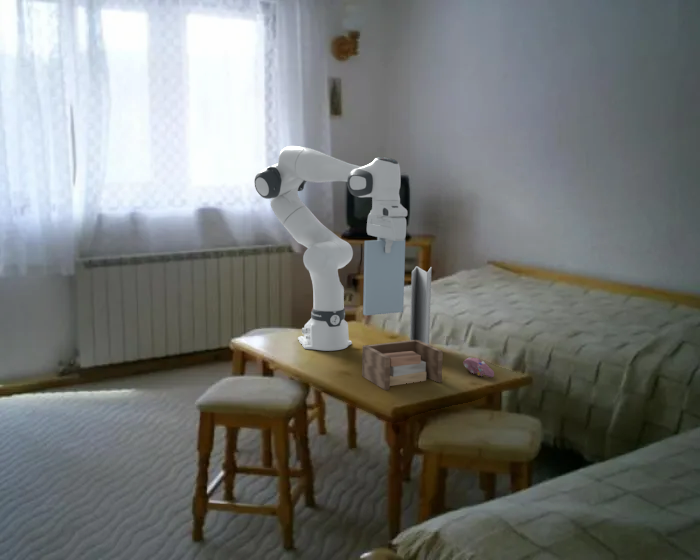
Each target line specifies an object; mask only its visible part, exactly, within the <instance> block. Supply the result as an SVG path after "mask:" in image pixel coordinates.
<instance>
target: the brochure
mask: <svg viewBox="0 0 700 560" xmlns="http://www.w3.org/2000/svg"><path fill="white" fill-rule="evenodd" d="M432 268H433V267H432V266H430V268H429V269H428V271H426V270H424V269H423V268H420V266H417V265H416V266H415V267H414V269H412V271H411V281H410V283H411V287H410V288H411V289H410V294H411V295H410V328H409V340H419V341H422V342H424V343H426V344H428V345H430V331H431V327H430V326H431V298H432V297H431V295H432Z"/></svg>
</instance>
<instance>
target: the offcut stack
mask: <svg viewBox="0 0 700 560" xmlns="http://www.w3.org/2000/svg"><path fill="white" fill-rule="evenodd" d="M385 355H386V356H388V357H390V385H389V387H391V386H399V385H406V383H407V384H414V383H419V382H420V381H421V382H427V377H426V362H424V361H422V360H421V356H420V355H419V354H417V353H415V352H413V351H406V352H395V353H385ZM413 382H414V383H413Z"/></svg>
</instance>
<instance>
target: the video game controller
mask: <svg viewBox="0 0 700 560" xmlns="http://www.w3.org/2000/svg"><path fill="white" fill-rule="evenodd" d="M462 364H463V366H464V367H465V368H466V369H467V370H468V371H469V372H470V373H471V374H472V373H473V374H472V375H475V374H476V375H477V376H478V377H480V376H481V377H483V376H484V375H485V376H486V377H488V378H493V377H494V376H495V371H494V370H493V369H492V368H491V367H490V366H489V365H488V364H487V363H486V362H485V361H484V360H481V359H480V358H477V357H470V356H469V357H468V358H465V359H464V360H463V361H462Z"/></svg>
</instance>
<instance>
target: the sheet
mask: <svg viewBox="0 0 700 560" xmlns="http://www.w3.org/2000/svg"><path fill="white" fill-rule="evenodd" d="M363 244H364V247H363V248H364V249H363V250H364V251H363V253H364V254H363V256H364V257H363V296H362V297H363V301H362V302H363V305H362V306H363V307H362V309H363V310H362V315H364V316H375V315H386V314H387V315H388V314H398V313H404V303H405V302H404V301H405V299H404V298H405V267H406V266H405V264H406V263H405V262H406V261H405V260H406V239H404V241H393V244H392V246H391V252H390V253H385V252H384V247H385V245H386V242H385V240H377V239H371V240H364V243H363Z"/></svg>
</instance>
